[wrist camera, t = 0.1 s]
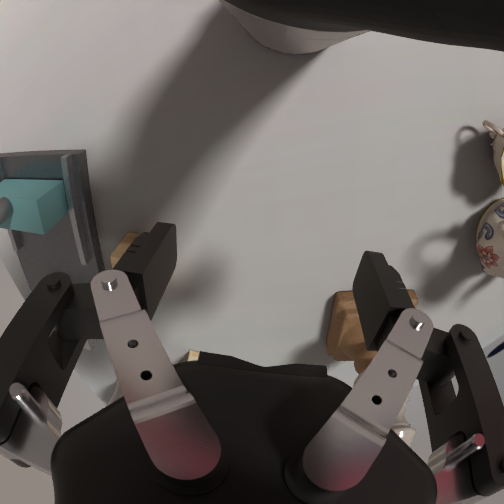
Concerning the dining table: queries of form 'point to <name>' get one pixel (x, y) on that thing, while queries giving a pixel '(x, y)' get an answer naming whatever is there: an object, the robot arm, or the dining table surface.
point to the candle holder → (359, 348)
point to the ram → (31, 204)
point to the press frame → (66, 229)
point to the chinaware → (493, 215)
